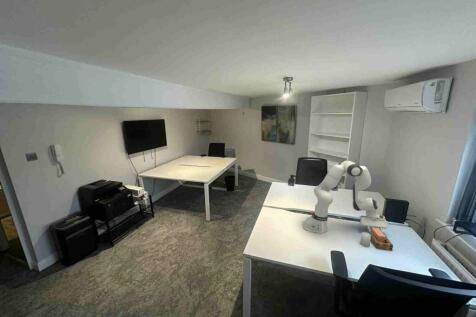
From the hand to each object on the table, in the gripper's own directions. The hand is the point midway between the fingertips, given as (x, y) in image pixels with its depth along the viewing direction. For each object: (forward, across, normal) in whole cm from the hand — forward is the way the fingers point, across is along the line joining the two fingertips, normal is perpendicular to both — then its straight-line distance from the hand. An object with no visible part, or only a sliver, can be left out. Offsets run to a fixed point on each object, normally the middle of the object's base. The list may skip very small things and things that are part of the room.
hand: (375, 232), depth 160 cm
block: (+6, 0, 0) cm, 6 cm away
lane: (+10, 0, -4) cm, 11 cm away
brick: (-18, +16, +25) cm, 34 cm away
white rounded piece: (+12, -12, -5) cm, 17 cm away
